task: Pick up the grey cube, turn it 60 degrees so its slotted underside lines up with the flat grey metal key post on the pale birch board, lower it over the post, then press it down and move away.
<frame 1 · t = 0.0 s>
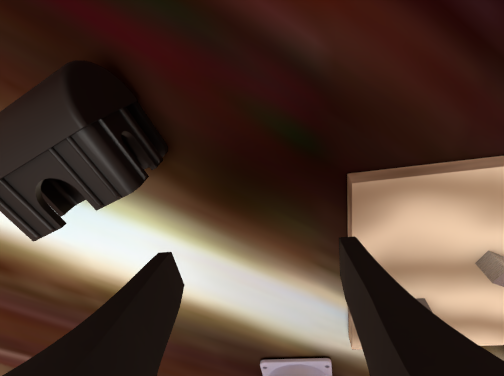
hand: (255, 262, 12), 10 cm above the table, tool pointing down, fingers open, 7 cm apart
board: (438, 262, 24), on the table
key post: (498, 263, 22), resting on board
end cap: (96, 134, 21), on the table
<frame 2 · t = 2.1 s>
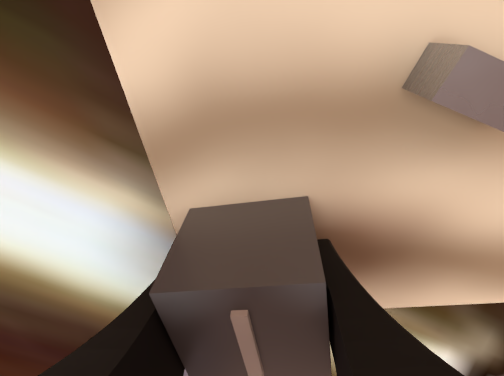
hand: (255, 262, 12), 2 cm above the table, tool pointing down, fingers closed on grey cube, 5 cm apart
grey cube: (256, 248, 13), point 2 cm above the table, touching board, gripper
board: (337, 119, 11), on the table
key post: (458, 85, 9), resting on board
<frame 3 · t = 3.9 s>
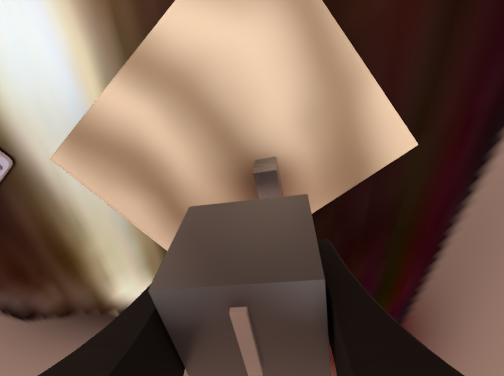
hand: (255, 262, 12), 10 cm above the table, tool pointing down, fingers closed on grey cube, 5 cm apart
grey cube: (256, 246, 13), point 9 cm above the table, touching gripper
board: (226, 144, 20), on the table
key post: (269, 179, 19), resting on board
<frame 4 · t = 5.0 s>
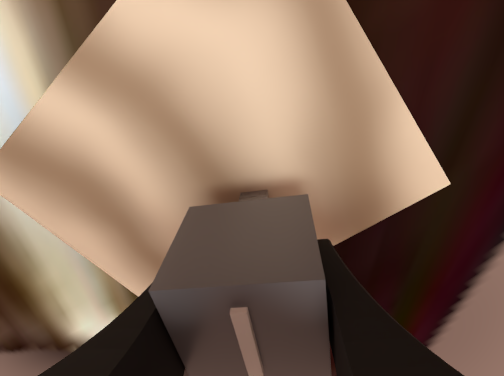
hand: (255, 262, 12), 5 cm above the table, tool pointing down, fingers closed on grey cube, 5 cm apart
grey cube: (256, 247, 13), point 4 cm above the table, touching gripper
board: (206, 168, 16), on the table
key post: (258, 216, 15), resting on board
when the fingers open (3 cm above the table, at t = 5.9 s): grey cube stays where it is, resting on board.
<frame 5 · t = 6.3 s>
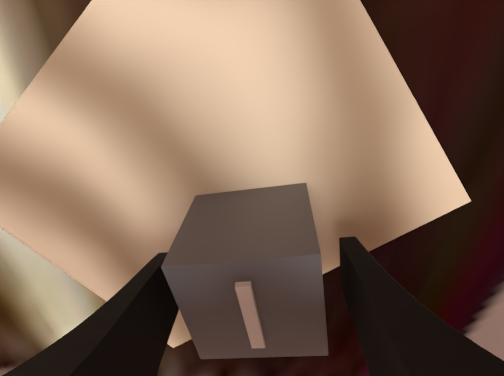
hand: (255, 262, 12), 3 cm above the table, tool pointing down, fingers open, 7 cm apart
grey cube: (258, 233, 14), point 1 cm above the table, touching board
board: (200, 181, 14), on the table
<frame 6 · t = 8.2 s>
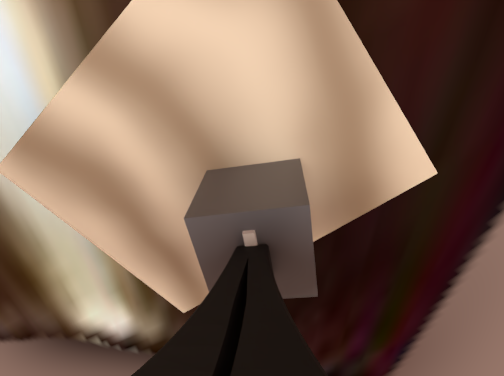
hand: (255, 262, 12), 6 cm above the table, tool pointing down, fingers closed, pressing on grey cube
grey cube: (259, 204, 16), point 1 cm above the table, touching board, gripper
board: (210, 160, 17), on the table
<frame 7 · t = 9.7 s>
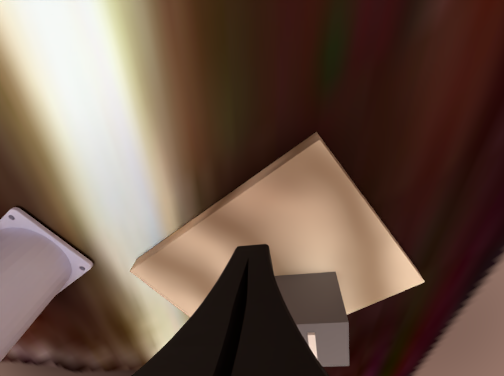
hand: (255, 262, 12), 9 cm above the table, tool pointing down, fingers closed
grey cube: (306, 295, 24), point 1 cm above the table, touching board
board: (271, 263, 25), on the table
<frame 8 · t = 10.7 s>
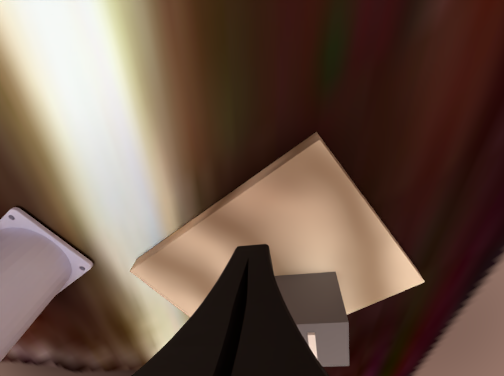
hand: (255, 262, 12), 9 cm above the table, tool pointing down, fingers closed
grey cube: (306, 295, 24), point 1 cm above the table, touching board
board: (271, 263, 25), on the table
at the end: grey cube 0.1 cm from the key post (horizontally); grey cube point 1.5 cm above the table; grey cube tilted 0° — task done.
